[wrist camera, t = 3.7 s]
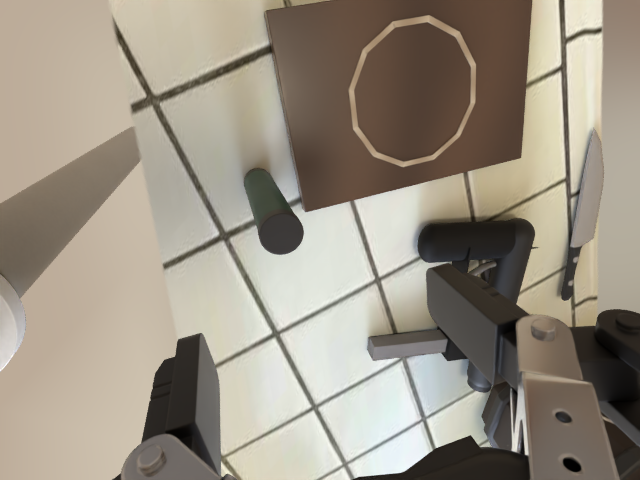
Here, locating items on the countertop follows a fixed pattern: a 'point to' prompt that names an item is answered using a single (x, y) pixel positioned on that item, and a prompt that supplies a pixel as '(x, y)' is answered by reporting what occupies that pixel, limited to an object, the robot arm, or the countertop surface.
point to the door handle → (460, 247)
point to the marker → (272, 214)
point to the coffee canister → (631, 460)
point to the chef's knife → (585, 210)
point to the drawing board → (398, 91)
